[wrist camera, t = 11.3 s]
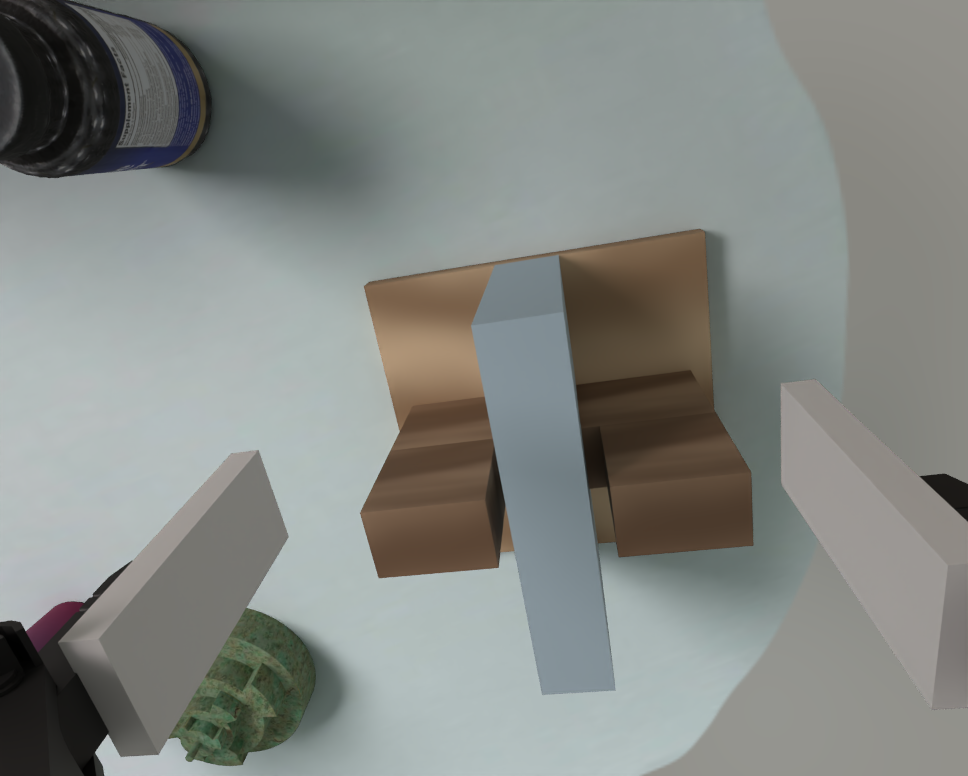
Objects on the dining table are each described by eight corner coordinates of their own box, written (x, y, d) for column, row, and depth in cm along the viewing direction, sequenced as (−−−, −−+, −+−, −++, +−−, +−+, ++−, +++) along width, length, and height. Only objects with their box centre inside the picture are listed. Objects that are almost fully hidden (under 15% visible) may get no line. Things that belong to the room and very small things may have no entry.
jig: (369, 281, 32) (285, 353, 22) (700, 228, 29) (780, 281, 19) (433, 548, 37) (391, 703, 27) (715, 521, 35) (784, 681, 25)
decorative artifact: (224, 577, 40) (143, 658, 43) (162, 663, 34) (72, 751, 37) (346, 668, 42) (260, 739, 45) (309, 767, 36) (212, 841, 39)
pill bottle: (89, 149, 31) (-139, 159, 20) (87, 6, 28) (-172, -63, 18) (213, 180, 31) (48, 205, 20) (221, 39, 28) (38, -11, 18)
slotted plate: (494, 265, 30) (471, 325, 21) (558, 254, 29) (563, 312, 20) (543, 548, 36) (542, 694, 26) (597, 543, 35) (615, 690, 26)
